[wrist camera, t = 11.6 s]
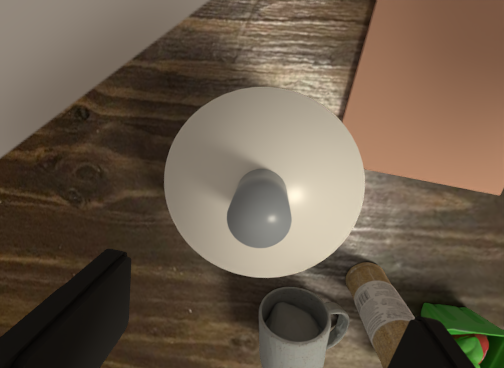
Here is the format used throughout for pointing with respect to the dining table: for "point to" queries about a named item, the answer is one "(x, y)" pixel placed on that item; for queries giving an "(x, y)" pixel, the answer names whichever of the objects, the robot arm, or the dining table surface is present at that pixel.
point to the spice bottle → (379, 308)
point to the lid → (264, 182)
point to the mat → (432, 92)
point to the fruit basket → (470, 334)
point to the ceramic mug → (297, 328)
